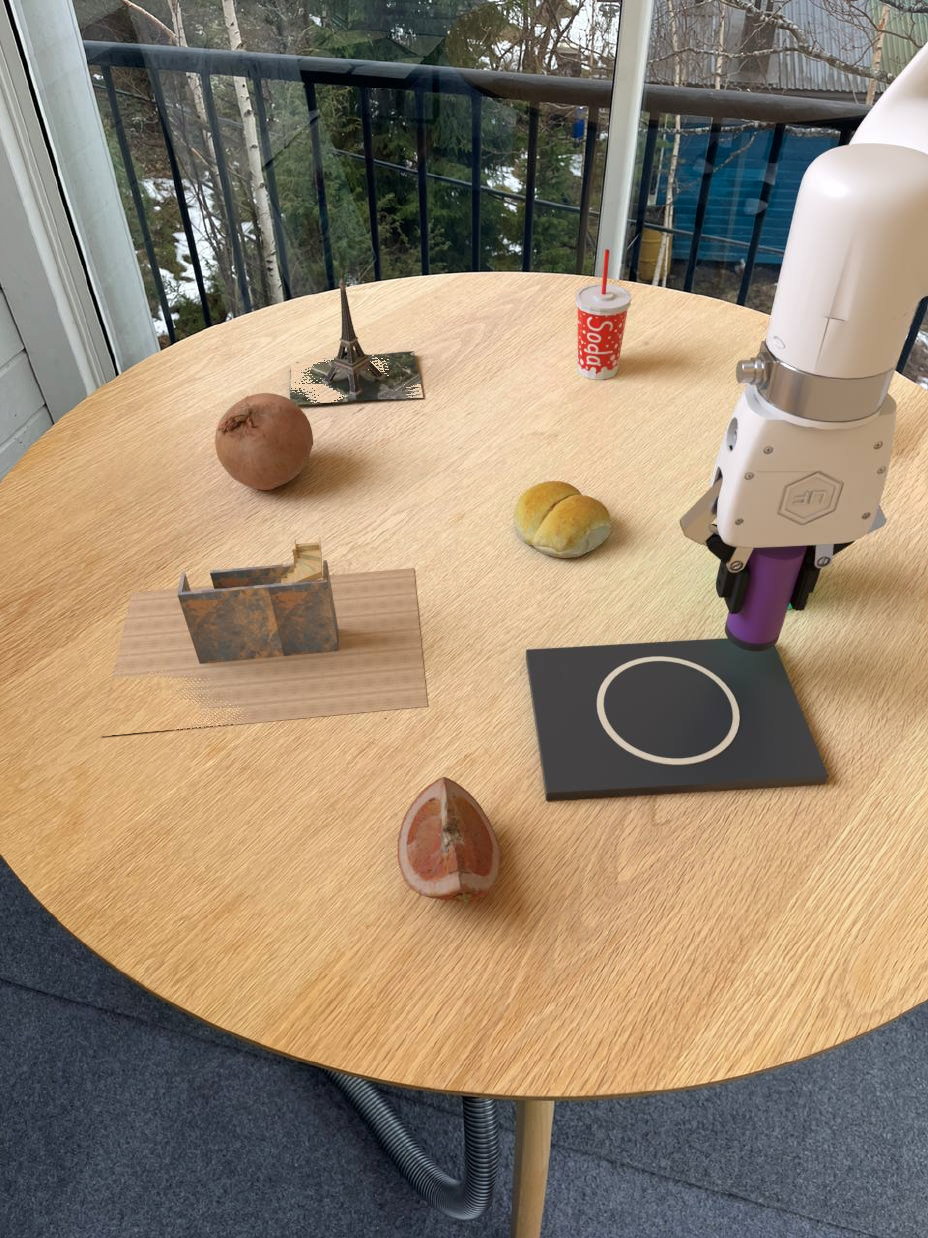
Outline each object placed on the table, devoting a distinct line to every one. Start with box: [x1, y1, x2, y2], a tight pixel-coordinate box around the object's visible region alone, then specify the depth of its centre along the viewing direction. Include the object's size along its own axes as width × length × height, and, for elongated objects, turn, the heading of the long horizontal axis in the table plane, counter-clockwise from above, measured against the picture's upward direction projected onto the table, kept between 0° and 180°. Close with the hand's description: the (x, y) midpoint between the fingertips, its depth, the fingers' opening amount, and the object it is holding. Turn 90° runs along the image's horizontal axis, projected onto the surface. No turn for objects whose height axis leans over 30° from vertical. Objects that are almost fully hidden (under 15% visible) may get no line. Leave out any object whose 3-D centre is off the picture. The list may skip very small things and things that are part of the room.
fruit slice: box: [397, 776, 502, 903], centre depth 61 cm, size 8×7×5 cm
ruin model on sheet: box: [112, 536, 428, 731], centre depth 75 cm, size 25×16×10 cm, turn 96°
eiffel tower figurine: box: [289, 273, 423, 405], centre depth 104 cm, size 15×10×13 cm
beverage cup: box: [574, 248, 633, 381], centre depth 104 cm, size 6×6×14 cm
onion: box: [214, 392, 314, 491], centre depth 92 cm, size 10×9×10 cm
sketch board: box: [525, 637, 830, 802], centre depth 71 cm, size 20×14×1 cm
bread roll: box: [513, 480, 611, 559], centre depth 87 cm, size 8×9×4 cm
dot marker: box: [724, 545, 806, 651], centre depth 68 cm, size 4×4×9 cm
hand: (761, 597), depth 69 cm, fingers closed on dot marker, 4 cm apart
